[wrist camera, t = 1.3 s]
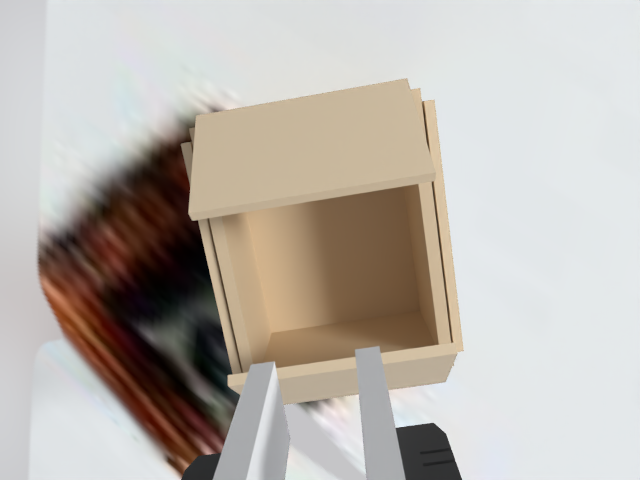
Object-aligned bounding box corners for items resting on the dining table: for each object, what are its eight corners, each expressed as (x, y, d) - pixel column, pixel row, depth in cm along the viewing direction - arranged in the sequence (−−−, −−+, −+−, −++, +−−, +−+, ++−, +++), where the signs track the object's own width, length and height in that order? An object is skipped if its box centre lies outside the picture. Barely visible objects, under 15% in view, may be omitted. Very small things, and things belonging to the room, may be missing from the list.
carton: (208, 127, 41) (174, 131, 32) (411, 92, 40) (433, 85, 31) (254, 341, 45) (235, 396, 36) (439, 314, 44) (465, 364, 35)
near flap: (196, 115, 31) (188, 213, 26) (407, 78, 30) (435, 172, 26) (199, 123, 31) (192, 220, 27) (407, 86, 31) (435, 180, 26)
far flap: (259, 398, 36) (227, 375, 29) (443, 373, 35) (454, 342, 28) (259, 408, 35) (227, 386, 29) (445, 382, 34) (457, 353, 28)
